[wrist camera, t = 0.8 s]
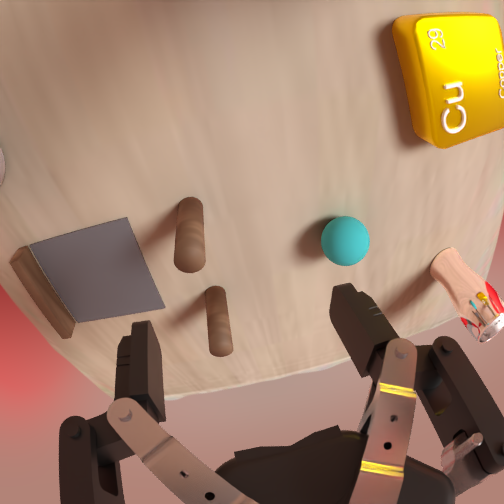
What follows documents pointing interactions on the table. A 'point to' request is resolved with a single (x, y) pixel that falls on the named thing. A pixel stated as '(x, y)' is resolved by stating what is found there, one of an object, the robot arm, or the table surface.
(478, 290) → the silver metal tumbler
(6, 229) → the table surface
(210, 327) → the post
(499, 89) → the element tile
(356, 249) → the ball
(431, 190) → the table surface
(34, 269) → the strip
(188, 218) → the post
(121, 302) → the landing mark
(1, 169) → the can
